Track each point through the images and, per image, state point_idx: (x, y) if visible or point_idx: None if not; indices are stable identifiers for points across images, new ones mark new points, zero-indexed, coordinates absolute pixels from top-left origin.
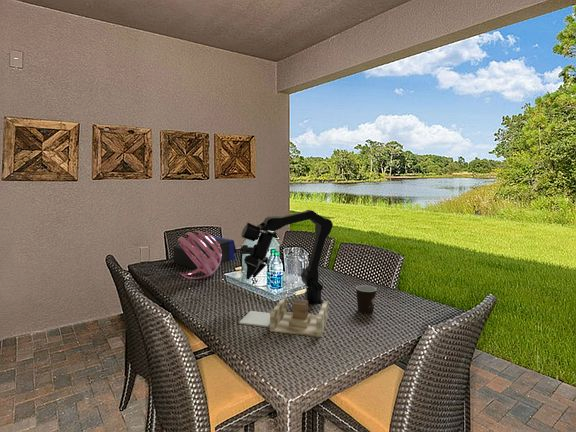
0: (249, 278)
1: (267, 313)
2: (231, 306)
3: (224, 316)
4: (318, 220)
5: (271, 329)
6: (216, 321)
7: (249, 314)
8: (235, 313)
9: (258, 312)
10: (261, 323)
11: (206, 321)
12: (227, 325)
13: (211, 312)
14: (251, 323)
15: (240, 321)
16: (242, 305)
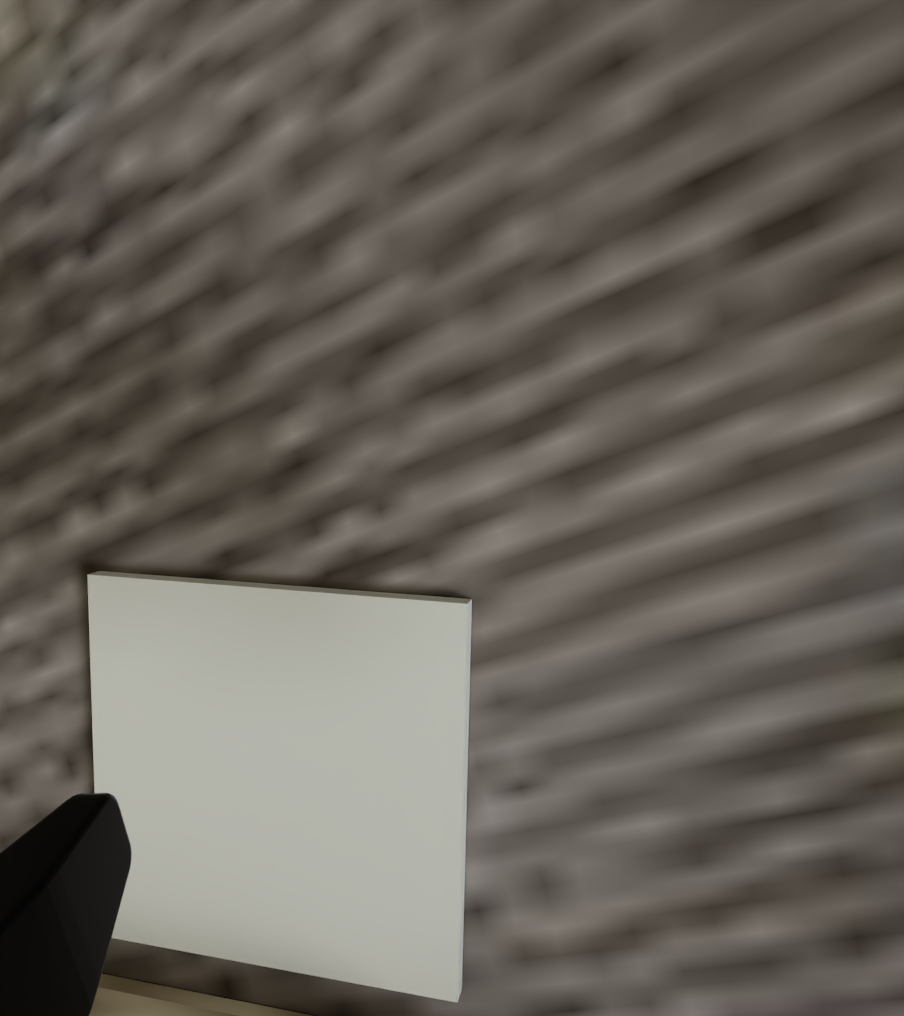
0: (106, 919)
1: (436, 871)
2: (638, 206)
3: (246, 284)
4: None
5: None
6: (82, 254)
7: (342, 630)
8: (381, 396)
9: (440, 738)
10: None
11: (48, 121)
12: (25, 446)
13: (327, 10)
14: (100, 733)
15: (110, 583)
16: (726, 376)
